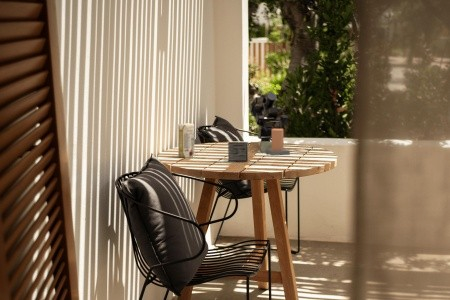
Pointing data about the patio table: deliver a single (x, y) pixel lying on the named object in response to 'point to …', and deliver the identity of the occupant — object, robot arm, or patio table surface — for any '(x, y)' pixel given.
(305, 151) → the card
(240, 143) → the small box
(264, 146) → the sage cube
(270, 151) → the slate base block
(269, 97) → the robot arm
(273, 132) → the terracotta block
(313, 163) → the patio table surface
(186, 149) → the juice carton
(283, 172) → the patio table surface
